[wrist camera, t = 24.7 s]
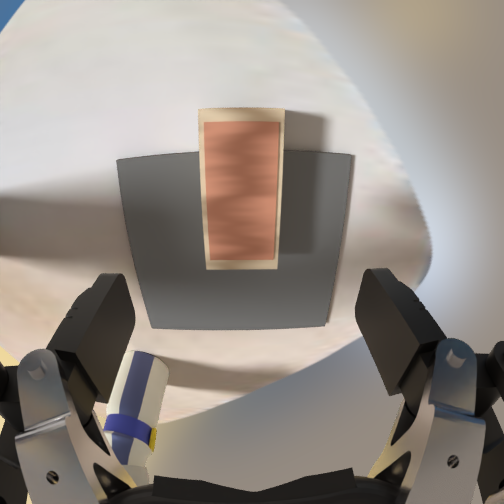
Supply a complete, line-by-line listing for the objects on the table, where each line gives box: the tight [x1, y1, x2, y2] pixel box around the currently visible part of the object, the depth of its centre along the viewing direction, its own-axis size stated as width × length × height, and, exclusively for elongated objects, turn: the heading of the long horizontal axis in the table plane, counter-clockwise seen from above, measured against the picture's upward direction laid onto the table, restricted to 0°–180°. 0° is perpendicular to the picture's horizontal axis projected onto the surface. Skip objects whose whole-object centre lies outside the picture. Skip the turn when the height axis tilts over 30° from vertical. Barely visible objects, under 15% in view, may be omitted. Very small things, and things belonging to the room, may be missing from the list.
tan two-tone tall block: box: [198, 108, 285, 270], centre depth 22 cm, size 6×4×13 cm
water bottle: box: [103, 351, 169, 487], centre depth 25 cm, size 8×9×25 cm
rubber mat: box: [116, 150, 351, 330], centre depth 27 cm, size 21×20×1 cm
